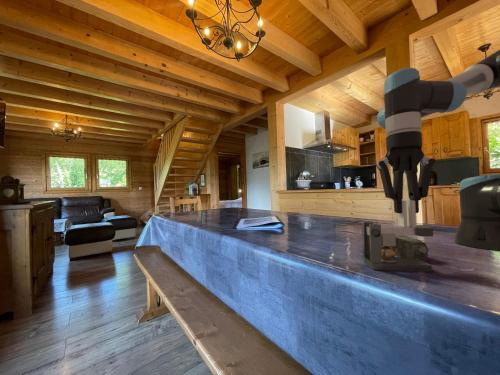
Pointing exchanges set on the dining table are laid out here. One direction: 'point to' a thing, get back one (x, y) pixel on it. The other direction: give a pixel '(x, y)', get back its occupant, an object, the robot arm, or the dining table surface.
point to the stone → (410, 247)
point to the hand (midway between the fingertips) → (407, 226)
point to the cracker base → (377, 254)
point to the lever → (401, 233)
